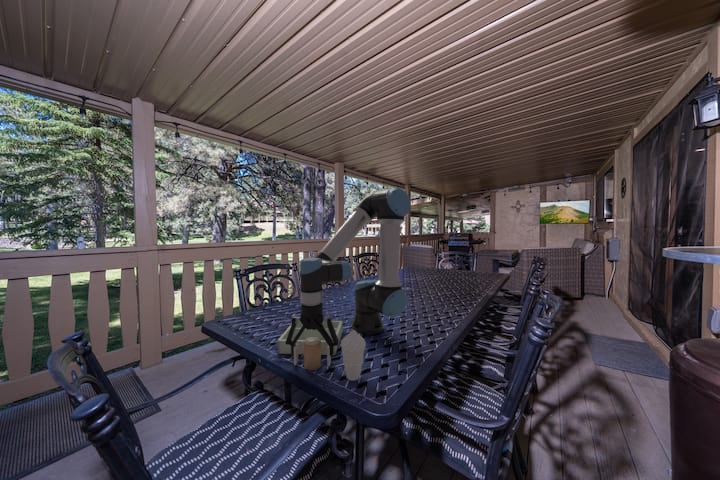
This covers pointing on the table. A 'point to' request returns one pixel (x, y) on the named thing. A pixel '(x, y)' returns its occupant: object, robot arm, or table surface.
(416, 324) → the table surface
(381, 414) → the table surface
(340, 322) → the tray
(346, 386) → the table surface
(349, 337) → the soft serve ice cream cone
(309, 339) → the jar
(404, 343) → the table surface
